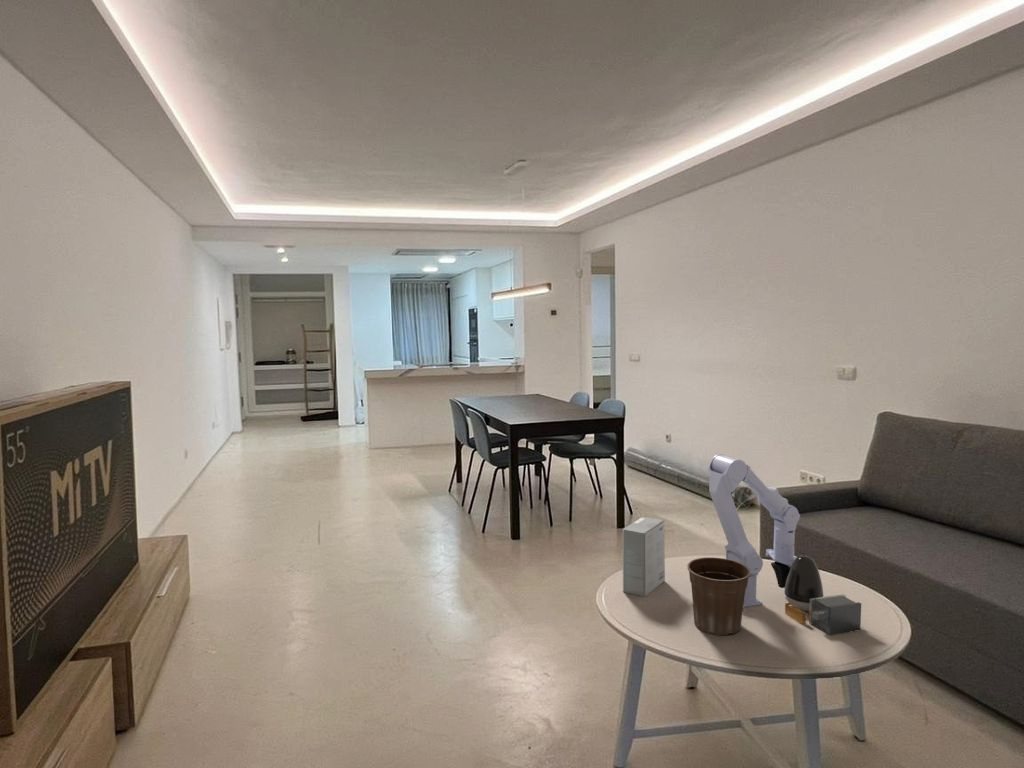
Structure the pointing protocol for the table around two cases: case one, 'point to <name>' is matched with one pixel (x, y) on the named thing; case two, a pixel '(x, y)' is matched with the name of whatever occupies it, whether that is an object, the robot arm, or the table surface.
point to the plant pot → (718, 594)
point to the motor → (829, 614)
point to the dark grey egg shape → (803, 583)
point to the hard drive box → (643, 556)
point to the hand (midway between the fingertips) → (782, 586)
